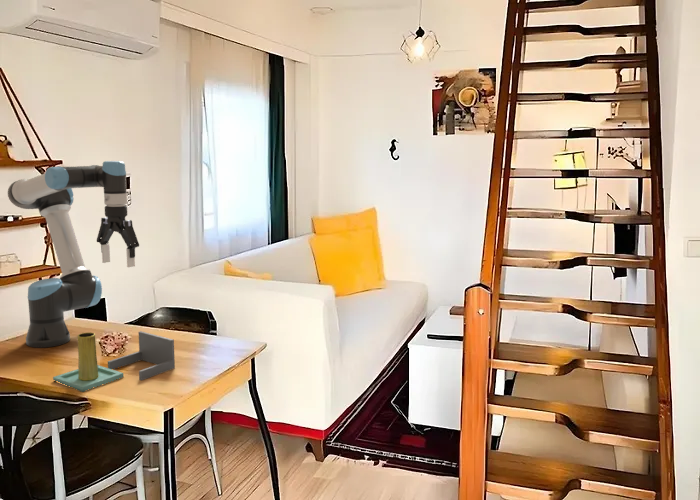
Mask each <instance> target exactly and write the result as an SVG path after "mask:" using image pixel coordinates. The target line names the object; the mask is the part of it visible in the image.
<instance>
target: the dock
mask: <svg viewBox="0 0 700 500" xmlns="http://www.w3.org/2000/svg"><path fill="white" fill-rule="evenodd" d="M140 361H144V362H147V363H150V364H155V365H150V366H149V367H146V368H143V369H141V370H138V379H139V381H144V380H147V379H150V378H152V377H155V376H158V375H160V374H163V373H166V372H168V371H171V370H173V369H175V367H176V365H175V361H176V360H175V340H174V339H172V338H168V337H165V336H161V335H157V334H153V333H149V332H145V331H141V330H140V331H138V351H136V352H132V353H129V354H126V355H124V356H120V357H117V358H114V359H111V360H108V361H107V368H109V369H113V370H116V369H119V368H122V367H125V366H127V365H131V364H133V363H137V362H140ZM121 366H122V367H121ZM118 367H119V368H118ZM115 368H116V369H115Z"/></svg>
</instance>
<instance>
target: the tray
mask: <svg viewBox="0 0 700 500" xmlns="http://www.w3.org/2000/svg"><path fill="white" fill-rule="evenodd" d="M97 365H98V374H99V377H98V378H96V379H94V380H90V381H82V380H79V379H78V369H74V370H71V371H68V372H65V373H62V374H58V375H56V376H55V375H54V376H53V377H52V379H53V380H55V381H58V382H60V383H62V384H65V385H67V386H70V387H73V388H75V389H74V390H76V389H77V390H76V391H78V392H82V393H83V392H87V391H89V390H88V389H90V390H92V389H94V388H93V387H95V388H98V387H101V386H103V385H102V384H104V385H106V383H107V384H109V383H112V382H115V381H117V380H116V379H118V380H120V379H119V378H121V379H123V378H124V372H121V371H118V370H116V369H113V370H112V369H109V368H108V367H105V366H103V365H99V364H97ZM122 377H123V378H122ZM53 380H52V381H53ZM114 380H115V381H114ZM111 381H112V382H111ZM108 382H109V383H108ZM62 384H61V385H62ZM65 385H64V386H65ZM100 385H101V386H100ZM67 386H66V387H67ZM97 386H98V387H97ZM70 387H69V388H70ZM73 388H72V389H73ZM91 388H92V389H91ZM86 390H87V391H86Z"/></svg>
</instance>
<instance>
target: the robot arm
mask: <svg viewBox="0 0 700 500" xmlns="http://www.w3.org/2000/svg"><path fill="white" fill-rule="evenodd" d="M82 188H86V189H87V188H103V195H104V196H103V197H104V205H105V206H104V216H105V217H101V218H100V222H101V223H100V227H99V230H98V232H97V233H98V234H97V237H96V242H97V243H99V244H100V248H101V249H100V250H101V259H102V263H103V264H106V263H111V256H110V255H111V254H110V252H111V251H110V243H109V241H110V239H111V237H112V236H113V234H114V232H116V233H118V234H119V235H120V236H121V237H122V240H123V242H124V243H125V245H126V267H127V268H132V267H133V268H134V267H136V264H135V263H136V262H135V258H136V248H138V247H140V243H139V241H138V238H137V235H136V232H135V230H134V227H133V221H132V219H128V220H127V219H126V217H127V216H128V206H127V204H128V198H127V197H128V195H127V171H126V164H125V162H124V161H122V160H121V161H119V160H105V161H103V162H102V165H98V164H97V165H95V164H93V165H92V164H91V165H86V166H85V165H83V166H82V165H81V166H80V165H79V166H77V165H76V166H51V167H48V168H47V169H46V171H45V172H44V173H42V174H40V175H37V176H34V177H31V178H27V179H26V178H22V179H18V180H16V181H15V180H14V181H13V182H12V183H11V184H10V185H9V186H8V189H7V197H8V200H9V201H10V202H11V203H12V205H14V206H16V207H17V208H20V209H24V210H38V212H39V215H40V216H41V217H43V218H45V221H46V225H47V228H48V230H49V234H50V238H51V240H52V241H51V242H52V244H53V247H54V251H55V254H56V257H57V260H58V265H59V267H60V270H61V273H62V274H61V275H60V277H59V278H58V277H51V278H44V279H41V280H40V279H39V280H36V281H33V282H32V283H31V284H30V285H29V286H28V287H27V288H28V289H27V300H28V301H27V303H28V313H29V314H28V315H29V325H28V329H27V333H26V336H25V344H26V346H28V347H30V348H40V349H41V348H52V347H57V346H61V345H64V344H67V343H69V342H70V341H71V335H70V334H71V333H70V330H69V329H68V326H67V324H66V322H65V317H64V315H65V314H64V312H69V311H75V310H79V309H84V308H85V309H86V308H87V309H88V308H89V307H93V306H96V305H97V304H98V303H99V302H100V300H101V299H102V298H101V297H102V294H103V288H102V287H103V286H102V282H101V279H100V278H99V277H98V276H97V275H92V272H91V270H90V269H88V268H87V267H86V265H85V263H84V260H83V257H82V252H81V249H80V246H79V244H78V239H77V236H76V233H75V230H74V227H73V223H72V220H71V217H70V213H69V211H70V210H71V209H72V205H73V203H74V192H73V189H82Z"/></svg>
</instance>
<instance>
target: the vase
mask: <svg viewBox="0 0 700 500" xmlns="http://www.w3.org/2000/svg"><path fill="white" fill-rule="evenodd" d="M76 337H77V338H76V339H77V349H78V350H77V351H78V379H79V380H82V381H90V380H94V379H96V378H98V377H99V374H98V365H99V364H98V357H97V344H96V342H97V341H96V333H95V332H89V331H88V332H82V333H79V334H78V335H76Z"/></svg>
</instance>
